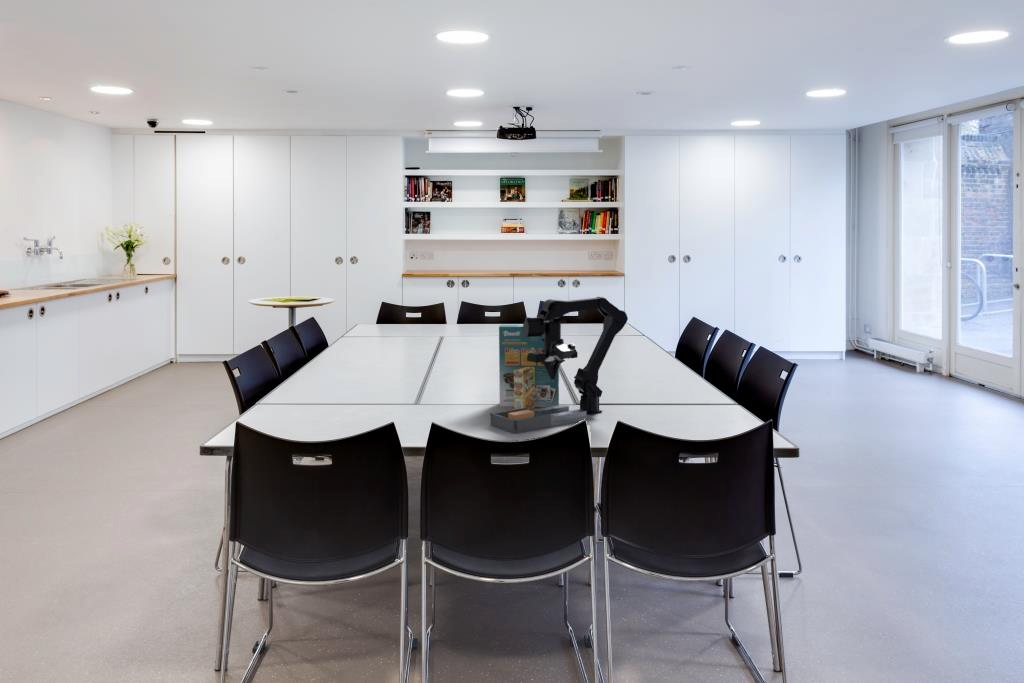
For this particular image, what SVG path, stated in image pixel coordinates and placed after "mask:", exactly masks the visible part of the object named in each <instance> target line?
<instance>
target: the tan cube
mask: <svg viewBox="0 0 1024 683" xmlns="http://www.w3.org/2000/svg"><path fill="white" fill-rule="evenodd" d="M508 418H510V419H513V420H520V419H525V414H524V413H521V412H512V413H508Z"/></svg>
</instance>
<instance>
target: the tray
mask: <svg viewBox="0 0 1024 683" xmlns="http://www.w3.org/2000/svg"><path fill="white" fill-rule="evenodd" d="M524 410H528V408H520V409H515V408H514V409H509V410H503V411H497V412H491V413H490V426H491V427H494V428H496V429H497V428H498V429H500V430H503V431H506V432H509V433H512V434H514V435H515V434H516V435H517V434H521V433H526V432H533V431H537V430H541V429H548V428H552V427H551V415H550V414H548V415H543V416H537V417H531V418H526V419H520V420H513V419H510V418H508V413H512V412H518V411H524Z"/></svg>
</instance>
